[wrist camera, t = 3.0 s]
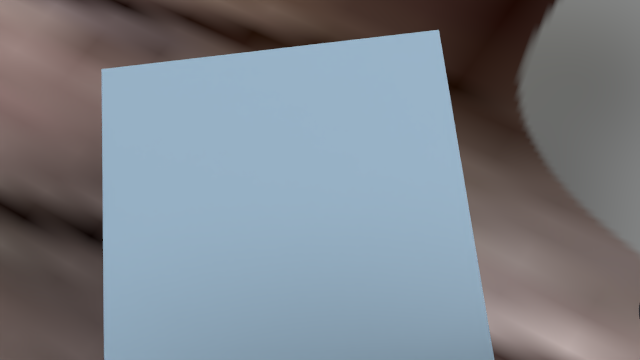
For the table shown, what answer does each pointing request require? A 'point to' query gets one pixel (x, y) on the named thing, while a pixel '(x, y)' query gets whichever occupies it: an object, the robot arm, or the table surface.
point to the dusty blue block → (289, 208)
